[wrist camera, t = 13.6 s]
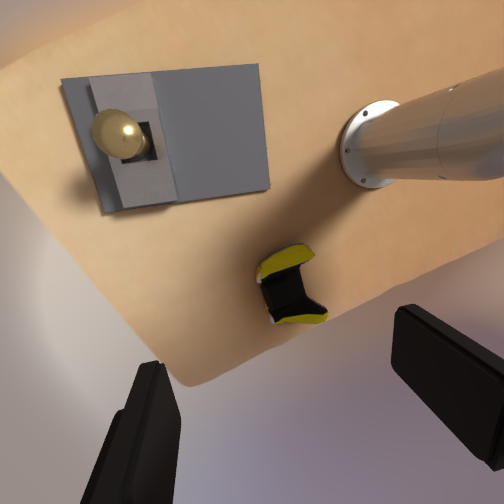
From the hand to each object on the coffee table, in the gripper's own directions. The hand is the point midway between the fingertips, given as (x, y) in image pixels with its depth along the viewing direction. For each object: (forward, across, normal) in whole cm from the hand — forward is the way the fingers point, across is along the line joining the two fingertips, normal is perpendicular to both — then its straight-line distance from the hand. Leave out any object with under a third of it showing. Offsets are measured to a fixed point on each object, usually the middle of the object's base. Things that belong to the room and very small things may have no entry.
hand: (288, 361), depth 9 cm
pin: (+29, +10, -12) cm, 33 cm away
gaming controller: (+31, -8, +13) cm, 34 cm away
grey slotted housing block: (+29, +10, -12) cm, 33 cm away
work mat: (+30, +5, -12) cm, 33 cm away
